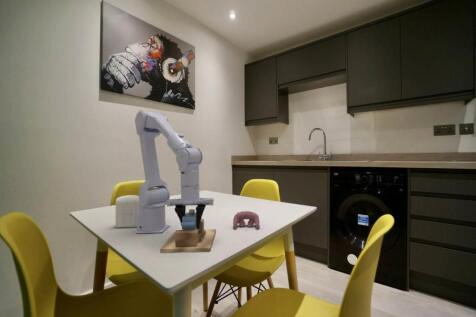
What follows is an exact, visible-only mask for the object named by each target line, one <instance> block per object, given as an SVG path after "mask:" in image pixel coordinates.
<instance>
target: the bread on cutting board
mask: <svg viewBox="0 0 476 317" xmlns="http://www.w3.org/2000/svg"><path fill="white" fill-rule="evenodd" d="M216 233H217V229H216V228H215V229H214V228H212V229H211V228H210V229H205V219H204V218H201V222H200V228H199V232H198V229H193V230H183V229H177V230H175V231H174V232H173V234H172V235H170V237H169V238H168V239H167V241H166V242H165V243H164V244H163V245H162V246H161V248H160V249H159V252H160V253H163V254H164V253H165V254H166V253H193V252H194V253H202V252H204V253H205V252H208V253H209V252H211V250H212V247H213V243H214V239H215V238H216Z"/></svg>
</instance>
